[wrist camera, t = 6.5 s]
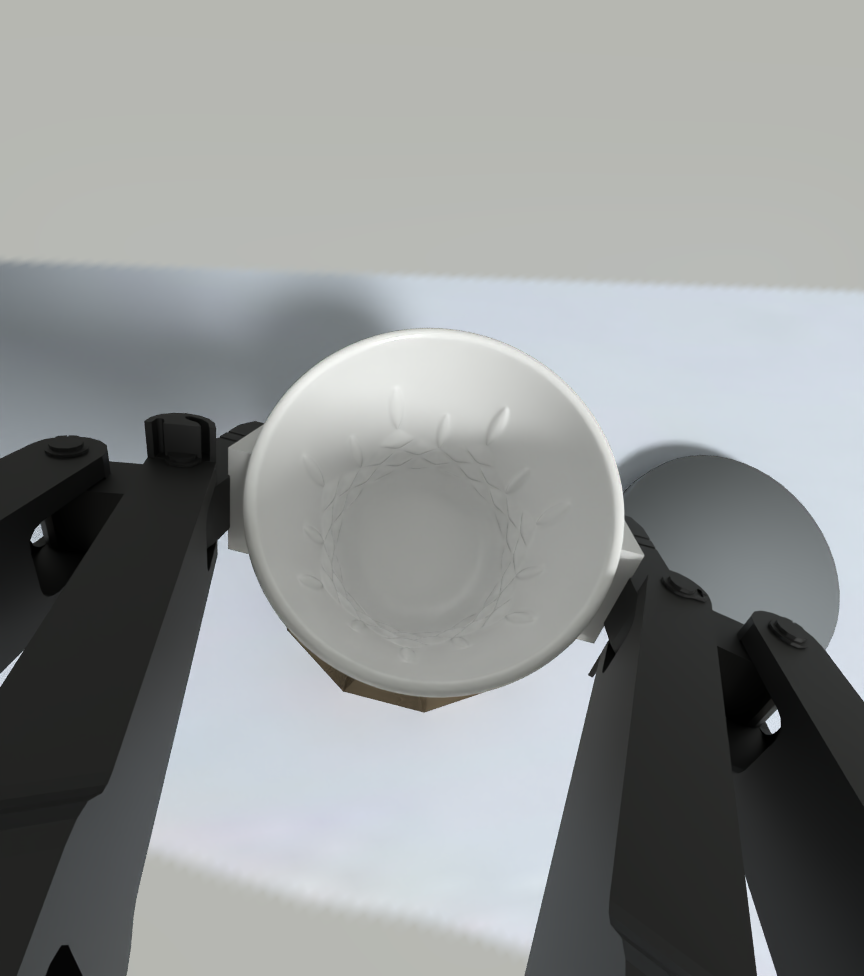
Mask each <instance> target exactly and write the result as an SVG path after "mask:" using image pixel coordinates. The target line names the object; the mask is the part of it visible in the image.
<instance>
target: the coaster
mask: <svg viewBox="0 0 864 976" xmlns="http://www.w3.org/2000/svg"><path fill="white" fill-rule="evenodd" d="M623 499H624V515H625V516H629V517H631V518H632V519H634V520H635V521H636V522H637V523H638V524H639V525H640V526H642V527H643V528H644V530H645V532H646V533H647V535H648V536H649V538H650V541H652V543H653V544H654V546H655V549H656V550H657V551H658V552H659V554H660V556H661V557H662V559H663V560H664V562H665V564H666V565H667V567H668V568H669V570H671V571H674V572H677V573H679V574H681V575H683V576H685V577H687V578H689V579H691V580H692V581H693V582H695V583H696V584H697V585H699V586H700V587H701V588H702V589H703V590H704V591H705V592H706V593H707V594H708V596H709V598H710V600H711V602H712V610H714V611H716V612H718V613H720V614H722V615H724V616H727V617H729V618H731V619H734V620H736V621H738V622H740V623H743V624H745V623H746V621H747V620H748V619H749V618H750V616H751V615H752V614H753V612H754V611H766V612H771V613H774V614H776V615H779V616H781V617H786V618H788V619H790V620H792V621H793V623H794V622H795V623H797V624H798V625H800V626H801V627H803V629H804V630H805V631H806V632H808V633H809V634H810V635H811V636H813V637H814V638H815V639H816V640H817V642H818V643H819V644H820V645H821V646H822V647H823V648H824V650H826V648H827V647H828V645H829V642H830V640H831V638H832V636H833V634H834V630H835V627H836V624H837V620H838V613H839V596H840V591H839V583H838V575H837V571H836V567H835V563H834V559H833V557H832V554H831V551H830V548H829V546H828V544H827V542H826V540H825V538H824V536H823V534H822V532H821V530H820V528H819V527H818V525H817V524H816V522H815V520H814V519H813V518H812V516H811V515H810V514H809V512H808V511H807V510H806V508H805V507H804V506H803V505H802V504H801V503H800V502H799V501H798V500H797V498H796V497H795V496H794V495H793V494H791V493H790V492H789V491H788V490H787V489H786V488H785V487H784V486H782V485H781V484H780V483H778V482H777V481H776V480H774V479H773V478H771V477H770V476H768V475H766V474H765V473H763V472H761V471H760V470H758V469H756V468H754V467H751V466H749V465H747V464H744V463H742V462H738V461H735V460H732V459H728V458H723V457H718V456H707V455H699V456H688V457H683V458H678V459H675V460H672V461H669V462H666V463H664V464H662V465H660V466H659V467H657V468H655V469H653V470H651V471H650V472H648V473H646V474H645V475H643V476H642V477H640V478H639V479H638V480H636V481H635V482H634V483H633V484H632V485H631V486H630V487H629V488H628V489H627V490H626V491H625V492H624V493H623Z"/></svg>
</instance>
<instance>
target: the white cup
mask: <svg viewBox="0 0 864 976" xmlns="http://www.w3.org/2000/svg"><path fill="white" fill-rule="evenodd" d="M243 523H244V532H245V539H246V544H247V548H248V553H249V556H250V560H251V563H252V566H253V569H254V572H255V574H256V577H257V579H258V582H259V584H260V586H261V588H262V590H263V592H264V594H265V596H266V598H267V599H268V601H269V603H270V605H271V606H272V608H273V609H274V611H275V612H276V614H277V615H278V617H279V618H280V619H281V621H282V622H283V623H284V624H285V626H286V627H287V628H288V629H289V630H290V631H291V633H292V634H293V635H294V636H295V637H296V638H297V639H298V640H299V641H300V642H301V643H302V644H303V645H304V646H305V647H307V648H308V649H309V650H310V651H311V652H312V653H314V654H315V655H316V656H317V657H319V658H320V659H321V660H323V661H324V662H326V663H327V664H329V665H330V666H332V667H333V668H335V669H337V670H338V671H340V672H342V673H344V674H346V675H348V676H350V677H352V678H354V679H356V680H358V681H360V682H363V683H365V684H368V685H370V686H373V687H376V688H379V689H383V690H386V691H390V692H394V693H399V694H404V695H411V696H419V697H458V696H466V695H472V694H478V693H482V692H486V691H490V690H493V689H497V688H500V687H503V686H505V685H508V684H511V683H513V682H515V681H518V680H520V679H522V678H524V677H526V676H528V675H530V674H532V673H533V672H535V671H537V670H538V669H540V668H542V667H543V666H545V665H546V664H548V663H549V662H550V661H552V660H553V659H554V658H556V657H557V656H558V655H559V654H561V653H562V652H563V651H564V650H565V649H566V648H567V647H568V646H570V645H571V644H572V643H573V642H574V641H575V639H576V638H577V637H578V636H579V635H580V634H581V633H582V632H583V631H584V629H585V628H586V627H587V626H588V624H589V623H590V622H591V620H592V619H593V617H594V616H595V614H596V613H597V611H598V610H599V608H600V606H601V605H602V603H603V601H604V599H605V597H606V595H607V593H608V591H609V589H610V586H611V584H612V581H613V579H614V576H615V573H616V570H617V566H618V563H619V559H620V554H621V549H622V543H623V536H624V499H623V491H622V485H621V480H620V476H619V472H618V468H617V464H616V461H615V458H614V455H613V453H612V450H611V448H610V445H609V443H608V441H607V439H606V437H605V435H604V433H603V431H602V429H601V427H600V425H599V424H598V422H597V420H596V419H595V417H594V416H593V414H592V413H591V411H590V410H589V409H588V407H587V406H586V405H585V403H584V402H583V401H582V400H581V398H580V397H579V396H578V395H577V394H576V393H575V392H574V391H573V389H572V388H571V387H570V386H569V385H568V384H567V383H566V382H564V381H563V380H562V379H561V378H560V377H559V376H558V375H557V374H555V373H554V372H553V371H552V370H550V369H549V368H548V367H546V366H545V365H544V364H542V363H541V362H539V361H538V360H536V359H535V358H533V357H531V356H530V355H528V354H526V353H524V352H523V351H521V350H519V349H517V348H515V347H512V346H510V345H508V344H506V343H503V342H501V341H498V340H495V339H492V338H489V337H486V336H483V335H479V334H475V333H471V332H466V331H460V330H453V329H442V328H416V329H406V330H398V331H393V332H388V333H383V334H379V335H376V336H372V337H369V338H366V339H363V340H361V341H358V342H355V343H353V344H351V345H349V346H346V347H344V348H342V349H340V350H338V351H337V352H335V353H333V354H331V355H330V356H328V357H326V358H325V359H323V360H322V361H320V362H319V363H318V364H316V365H315V366H313V367H312V368H311V369H310V370H308V371H307V372H306V373H305V374H304V375H303V376H301V377H300V378H299V379H298V380H297V381H296V382H295V383H294V384H293V385H292V386H291V387H290V388H289V389H288V391H287V392H286V393H285V394H284V395H283V397H282V398H281V399H280V400H279V402H278V403H277V404H276V406H275V407H274V409H273V410H272V412H271V413H270V415H269V416H268V418H267V420H266V422H265V423H264V425H263V427H262V429H261V431H260V433H259V435H258V438H257V440H256V442H255V445H254V448H253V451H252V454H251V457H250V460H249V464H248V468H247V473H246V478H245V484H244V494H243Z"/></svg>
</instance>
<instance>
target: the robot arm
mask: <svg viewBox="0 0 864 976" xmlns="http://www.w3.org/2000/svg"><path fill="white" fill-rule="evenodd" d="M144 423H145V433H146V444H147V454H148V458H147V459H146V461H145V462H144V464H133V463H122V462H110V461H109V458H108V451H107V445H105V444H104V443H103V442H101V441H99V440H95V439H92V438H86V437H79V436H73V435H69V437H67V435H66V436H57V437H55V438H50V439H44V440H41V441H38V442H35V443H32V444H30V445H28V446H26V447H24V448H22V449H20V450H17V451H15V452H13V453H11V454H9V455H7V456H5V457H3V458H1V459H0V673H1V672H2V671H3V670H4V669H5V668H6V667H7V666H8V665H9V664H10V663H11V662H12V661H13V660H14V659H15V658H16V657H17V656H18V655H19V654H20V653H21V652H22V651H23V650H24V649H25V650H24V651H23V653H22V654H21V656H20V657H19V659H18V660H17V662H16V664H15V665H14V667H13V668H12V670H11V671H10V673H9V674H8V676H7V678H6V679H5V681H4V682H3V684H2V685H1V687H0V976H126V975H127V969H128V963H129V955H130V949H131V939H132V927H133V916H134V910H135V903H136V898H137V893H138V888H139V884H140V880H141V875H142V872H143V867H144V863H145V859H146V855H147V850H148V846H149V842H150V838H151V833H152V829H153V825H154V821H155V817H156V812H157V808H158V804H159V800H160V795H161V791H162V787H163V783H164V779H165V774H166V770H167V766H168V762H169V757H170V753H171V749H172V745H173V741H174V736H175V732H176V728H177V724H178V719H179V715H180V711H181V707H182V703H183V698H184V694H185V690H186V686H187V681H188V677H189V673H190V669H191V665H192V660H193V656H194V652H195V648H196V643H197V639H198V635H199V631H200V627H201V622H202V618H203V614H204V610H205V605H206V601H207V597H208V593H209V589H210V584H211V580H212V576H213V572H214V567H215V563H216V559H217V540H218V539H219V538H220V537H221V536H222V535H223V534H224V533H225V532H226V531H227V530H228V549H231V550H235V551H239V552H243V553H246V554H249V553H248V548H247V544H246V539H245V532H244V523H243V494H244V484H245V478H246V473H247V468H248V464H249V460H250V457H251V454H252V451H253V448H254V445H255V442H256V440H257V438H258V435H259V433H260V431H261V429H262V427H263V425H264V423H261V422H257V421H254V422H249V423H245V424H241V425H238V426H237V427H235V428H233V429H232V430H230V431H229V433H225V434H223V435H222V436H220V438H217V439H216V426H215V423H214V422H212V421H211V420H210V419H208V418H205V417H202V416H199V415H193V414H187V413H168V414H160V415H156V416H153V417H150V418H148V419H147V420H145V421H144ZM40 523H41V527H42V531H43V535H44V536H43V537H42V538H40V539H39V540H38V541H36V542H35V543H33V544H32V542H31V541H30V539H31V537H32V534H33V532H34V530H35V528H36V527H37V526H38V525H39V524H40ZM604 626H605V629H606V632H607V635H608V638H609V641H608V642H607V644H606V646H605V647H604V649H603V651H602V652H601V654H600V656H599V657H598V659H597V661H596V663H595V664H594V666H593V668H592V669H591V671H590V673H589V674H588V675H589V676H591V677H592V678H593V676H594V675H595V674H596V676H595V680H594V684H593V689H592V693H591V697H590V701H589V706H588V710H587V714H586V718H585V723H584V727H583V731H582V735H581V739H580V744H579V748H578V752H577V756H576V761H575V765H574V769H573V773H572V777H571V782H570V786H569V790H568V794H567V799H566V803H565V807H564V811H563V815H562V820H561V824H560V828H559V832H558V837H557V841H556V845H555V849H554V854H553V858H552V862H551V866H550V870H549V875H548V879H547V883H546V887H545V892H544V896H543V900H542V904H541V908H540V913H539V917H538V921H537V925H536V930H535V934H534V938H533V942H532V946H531V951H530V955H529V959H528V963H527V968H526V972H525V976H757V972H756V964H755V956H754V947H753V939H752V931H751V923H750V914H749V906H748V898H747V890H746V881H745V877H746V880H747V883H748V886H749V889H750V892H751V895H752V898H753V902H754V905H755V908H756V911H757V914H758V917H759V920H760V923H761V926H762V930H763V933H764V936H765V939H766V942H767V945H768V948H769V951H770V954H771V957H772V961H773V964H774V967H775V970H776V973H777V976H864V701H863V700H862V699H861V697H860V696H859V695H858V693H857V692H856V691H855V689H854V688H853V687H852V685H851V684H850V683H849V681H848V680H847V679H846V677H845V676H844V675H843V674H842V672H841V671H840V670H839V668H838V667H837V666H836V664H835V663H834V662H833V660H832V659H831V658H830V656H829V655H828V654H827V652H826V651H825V650H824V648H823V647H822V646H821V645H820V644H819V643H818V642H817V640H816V639H815V638H814V637H813V636H811V635H810V634H809V633H808V632H806V631H805V630H804V629H803V627H801V626H800V625H798V624H797V623H795V622H794V623H793V621H792V620H790V619H788V618H786V617H781V616H779V615H776V614H774V613H771V612H766V611H754V612H753V614H752V615H751V616H750V618H749V619H748V620H747V621H746V623H745V624H743V623H740V622H738V621H736V620H734V619H731V618H729V617H727V616H724V615H722V614H720V613H718V612H716V611H714V610H712V602H711V600H710V598H709V596H708V594H707V593H706V592H705V591H704V590H703V589H702V588H701V587H700V586H699V585H697V584H696V583H695V582H693V581H692V580H691V579H689V578H687V577H685V576H683V575H681V574H679V573H677V572H674V571H671V570H669V568H668V567H667V565H666V564H665V562H664V560H663V559H662V557H661V556H660V554H659V552H658V551H657V550H656V549H655V546H654V544H653V543H652V541H650V538H649V536H648V535H647V533H646V532H645V530H644V528H643V527H642V526H640V525H639V524H638V523H637V522H636V521H635V520H634V519H632V518H631V517H629V516H625V515H624V536H623V543H622V549H621V554H620V559H619V563H618V566H617V570H616V573H615V576H614V579H613V581H612V584H611V586H610V589H609V591H608V593H607V595H606V597H605V599H604V601H603V603H602V605H601V606H600V608H599V610H598V611H597V613H596V614H595V616H594V617H593V619H592V620H591V622H590V623H589V624H588V626H587V627H586V628H585V629H584V631H583V632H582V633H581V634H580V635H579V636H578V637H577V638H576V639H579V640H583V641H586V642H590V643H594V642H595V641H596V639H597V637H598V635H599V634H600V632H601V630H602V629H603V627H604ZM777 709H778V712H779V715H780V718H781V728H780V729H779V730H778V731H777V732H775V733H774V734H772V733H771V732H770V730H769V728H768V726H767V724H766V722H765V721H766V720H767V719H768V718H769V717H770V716H771V715H772V714H773V713H774V712H775V711H776V710H777Z"/></svg>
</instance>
